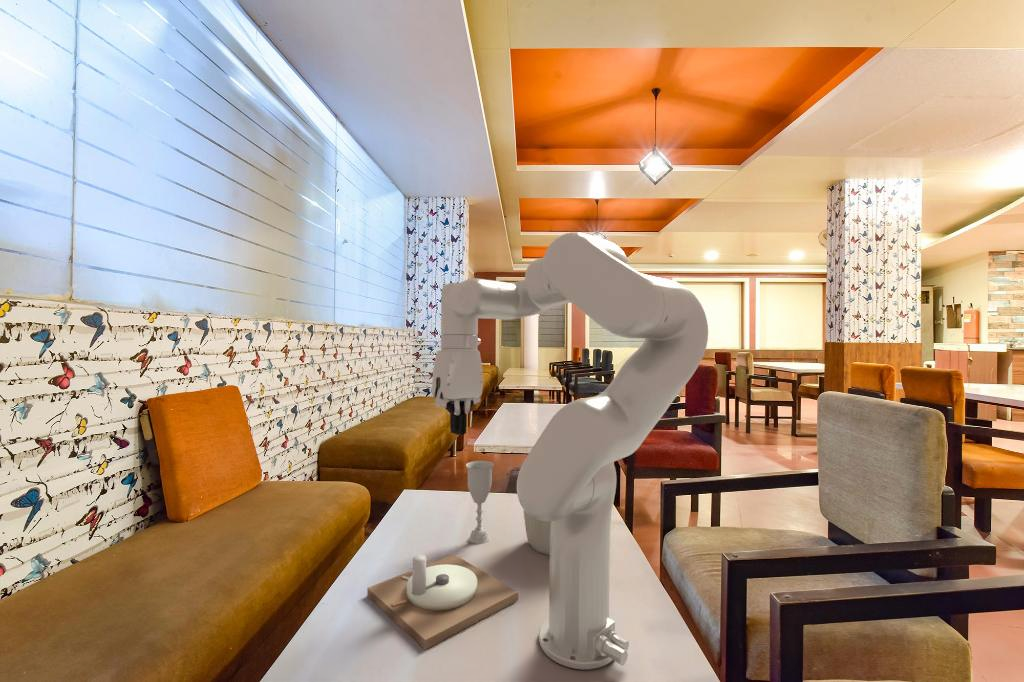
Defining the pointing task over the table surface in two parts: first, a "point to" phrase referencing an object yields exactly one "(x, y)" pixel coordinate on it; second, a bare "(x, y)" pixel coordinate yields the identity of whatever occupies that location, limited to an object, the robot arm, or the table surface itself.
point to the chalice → (479, 494)
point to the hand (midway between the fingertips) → (458, 433)
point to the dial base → (440, 623)
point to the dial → (440, 585)
